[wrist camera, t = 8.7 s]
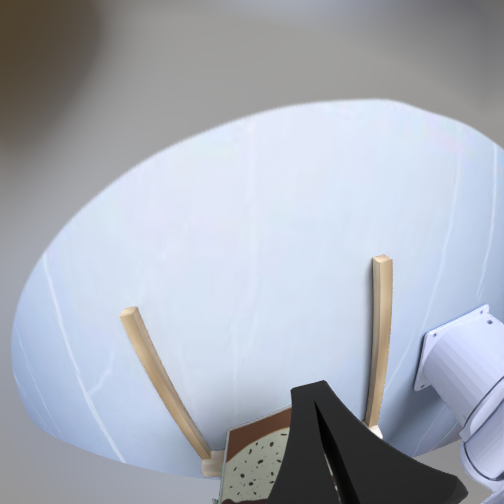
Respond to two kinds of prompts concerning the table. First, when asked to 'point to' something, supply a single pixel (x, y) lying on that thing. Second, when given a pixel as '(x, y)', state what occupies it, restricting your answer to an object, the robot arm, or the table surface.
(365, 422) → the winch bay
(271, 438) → the food container
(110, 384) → the table surface
